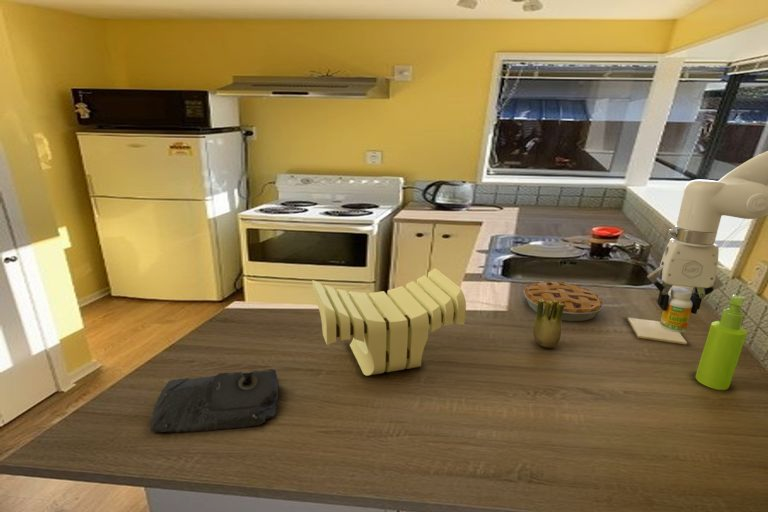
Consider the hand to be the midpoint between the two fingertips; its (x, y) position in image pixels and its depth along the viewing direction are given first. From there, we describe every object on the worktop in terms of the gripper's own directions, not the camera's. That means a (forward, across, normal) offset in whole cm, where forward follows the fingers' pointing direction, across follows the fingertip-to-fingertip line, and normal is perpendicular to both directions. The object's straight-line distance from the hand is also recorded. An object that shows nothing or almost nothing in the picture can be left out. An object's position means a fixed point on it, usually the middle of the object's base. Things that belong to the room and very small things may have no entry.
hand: (677, 309), depth 100 cm
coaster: (+11, 0, +10) cm, 15 cm away
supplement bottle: (+5, 0, 0) cm, 5 cm away
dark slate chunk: (+9, -91, -50) cm, 104 cm away
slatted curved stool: (+10, -65, -25) cm, 70 cm away
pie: (+11, -23, +18) cm, 31 cm away
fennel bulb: (+10, -29, -7) cm, 31 cm away
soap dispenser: (+11, +5, -13) cm, 18 cm away
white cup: (+11, +11, +32) cm, 36 cm away
